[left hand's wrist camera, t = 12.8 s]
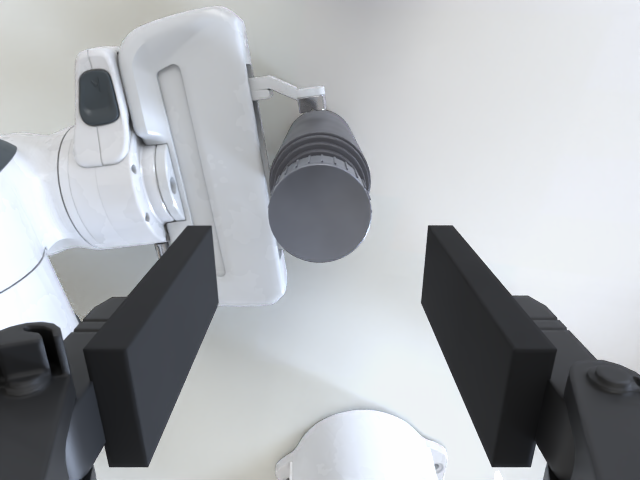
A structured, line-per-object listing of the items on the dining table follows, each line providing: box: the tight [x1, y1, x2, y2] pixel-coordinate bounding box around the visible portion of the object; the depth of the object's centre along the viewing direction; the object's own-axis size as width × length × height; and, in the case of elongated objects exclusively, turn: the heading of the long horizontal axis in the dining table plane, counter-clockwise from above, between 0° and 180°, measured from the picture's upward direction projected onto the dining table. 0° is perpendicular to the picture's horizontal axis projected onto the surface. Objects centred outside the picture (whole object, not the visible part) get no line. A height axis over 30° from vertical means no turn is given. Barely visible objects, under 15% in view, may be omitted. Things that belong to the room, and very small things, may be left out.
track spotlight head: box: [269, 110, 371, 194], centre depth 28 cm, size 6×6×19 cm
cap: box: [268, 154, 372, 263], centre depth 20 cm, size 4×4×2 cm
